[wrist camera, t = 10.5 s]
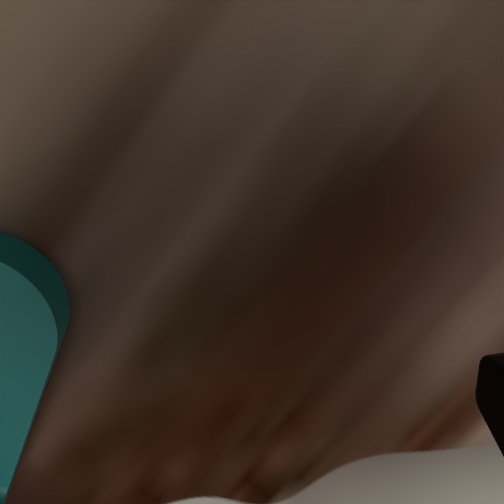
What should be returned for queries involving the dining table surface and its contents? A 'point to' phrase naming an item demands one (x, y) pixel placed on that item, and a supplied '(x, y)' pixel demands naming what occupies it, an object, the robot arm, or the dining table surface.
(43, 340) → the bracket
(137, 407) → the dining table surface
